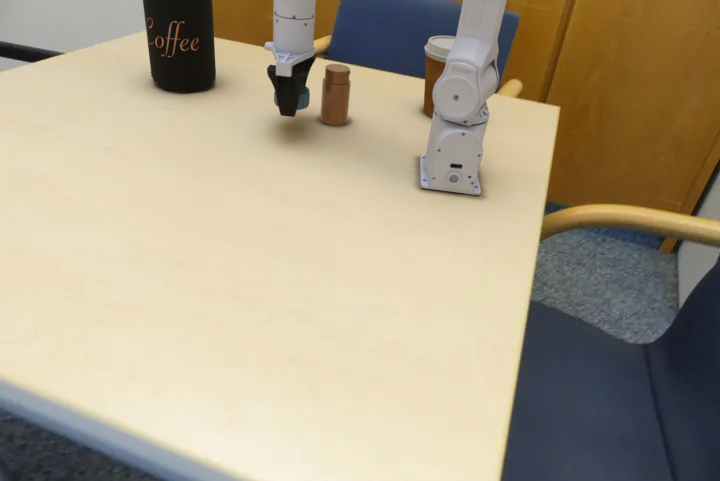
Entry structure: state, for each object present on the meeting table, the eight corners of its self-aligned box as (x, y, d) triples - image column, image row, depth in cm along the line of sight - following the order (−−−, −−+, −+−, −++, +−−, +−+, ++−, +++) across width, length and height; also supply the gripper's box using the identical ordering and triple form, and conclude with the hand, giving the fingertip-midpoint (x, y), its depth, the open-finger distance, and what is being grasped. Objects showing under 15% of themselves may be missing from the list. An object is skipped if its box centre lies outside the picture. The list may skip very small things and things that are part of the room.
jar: (350, 125, 89) (355, 72, 84) (324, 126, 87) (327, 72, 82) (342, 114, 92) (347, 63, 87) (317, 115, 91) (320, 63, 86)
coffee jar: (139, 86, 93) (124, -32, 83) (174, 68, 102) (164, -40, 92) (196, 98, 91) (187, -20, 81) (227, 79, 100) (223, -30, 90)
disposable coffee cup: (403, 107, 97) (413, 37, 90) (441, 99, 102) (454, 32, 96) (440, 128, 91) (455, 54, 85) (479, 118, 97) (496, 48, 90)
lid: (310, 99, 86) (311, 84, 84) (306, 112, 81) (307, 97, 80) (277, 95, 86) (277, 81, 84) (271, 108, 81) (271, 93, 80)
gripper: (276, -1, 82) (274, 88, 90) (252, 23, 70) (253, 123, 78) (323, 5, 82) (318, 94, 90) (308, 30, 70) (303, 129, 78)
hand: (291, 108), depth 84 cm, fingers closed on lid, 5 cm apart
